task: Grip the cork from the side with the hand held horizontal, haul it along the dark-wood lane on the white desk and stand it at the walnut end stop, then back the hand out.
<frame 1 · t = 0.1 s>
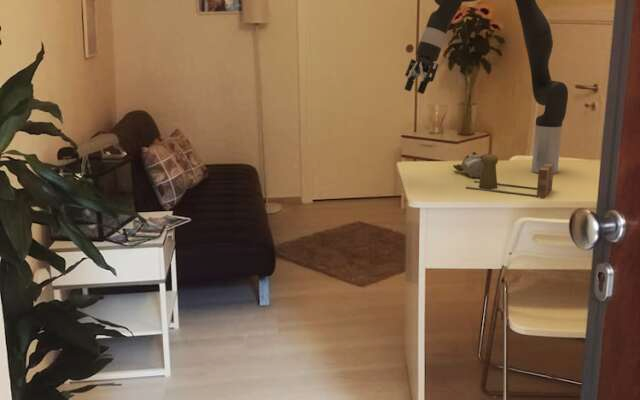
hand: (413, 91, 234), 31 cm above the table, fingers open, 8 cm apart
ceramic sculpture: (472, 175, 258), on the table
cork: (487, 187, 239), resting in lane
lane: (505, 189, 237), on the table
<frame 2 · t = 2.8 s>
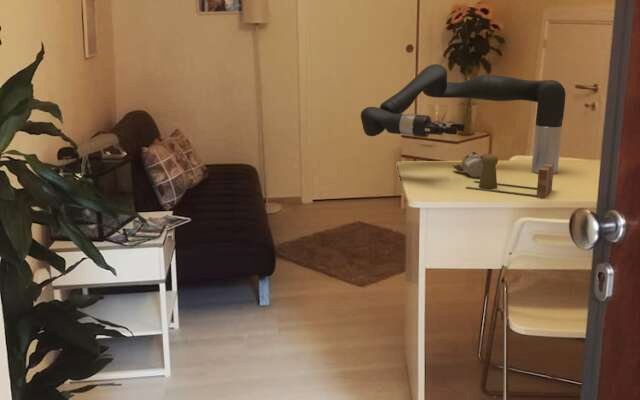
hand: (460, 129, 239), 19 cm above the table, fingers open, 8 cm apart
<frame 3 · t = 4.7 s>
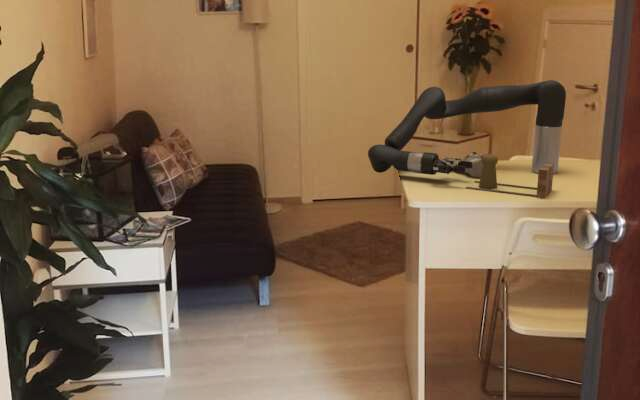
hand: (468, 167, 240), 6 cm above the table, fingers open, 8 cm apart
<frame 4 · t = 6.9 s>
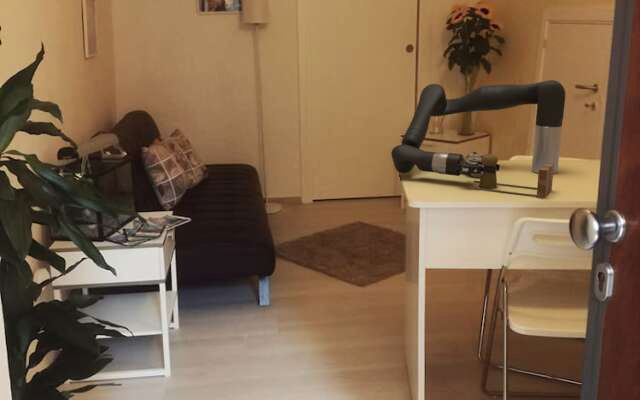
hand: (497, 169, 236), 7 cm above the table, fingers closed on cork, 3 cm apart
cork: (487, 187, 239), resting in lane, touching gripper
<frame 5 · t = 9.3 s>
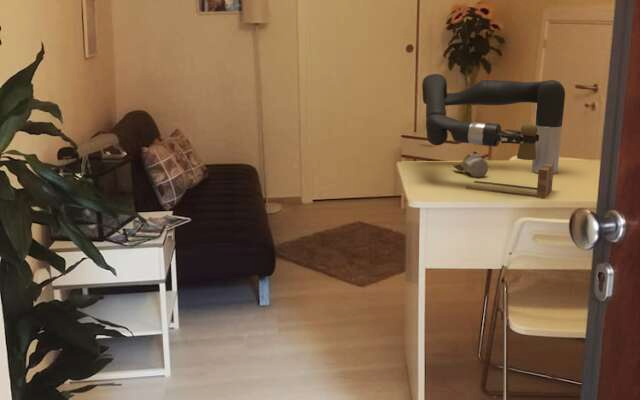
hand: (537, 139, 228), 18 cm above the table, fingers closed on cork, 3 cm apart
cork: (526, 158, 231), point 11 cm above the table, touching gripper
when the fingers open (8 cm above the table, at t = 11.5 s): cork moves 3 cm, resting in lane.
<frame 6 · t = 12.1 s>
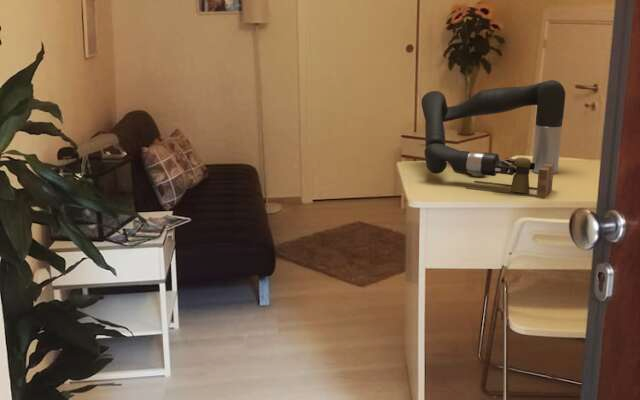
hand: (531, 168, 231), 8 cm above the table, fingers open, 8 cm apart
cork: (519, 192, 232), resting in lane, touching gripper
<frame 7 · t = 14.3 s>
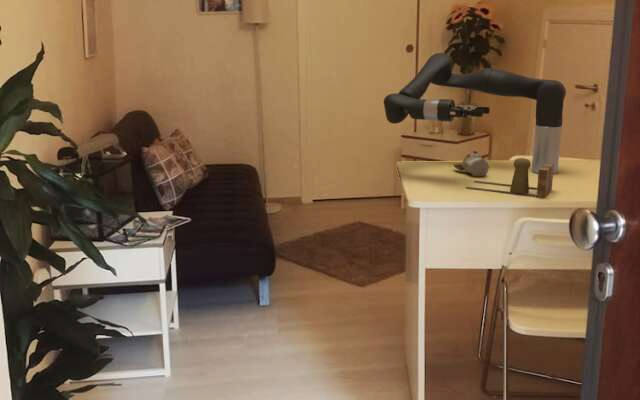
hand: (486, 111, 238), 25 cm above the table, fingers open, 8 cm apart
cork: (519, 192, 232), resting in lane
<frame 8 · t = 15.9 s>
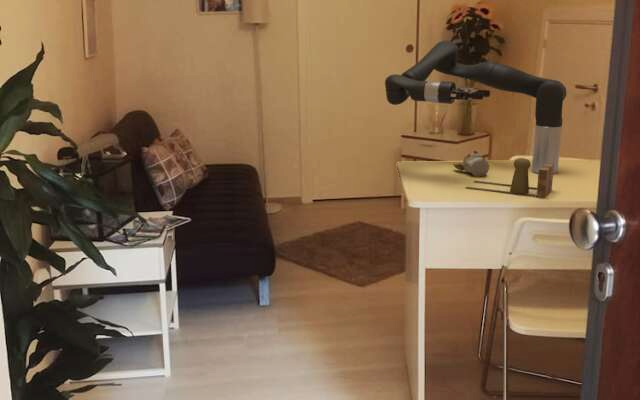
hand: (486, 94, 239), 30 cm above the table, fingers open, 8 cm apart
at the end: cork inside the target area (2.9 cm from its centre), resting in lane; cork tilted 5°; the gripper is holding nothing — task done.
